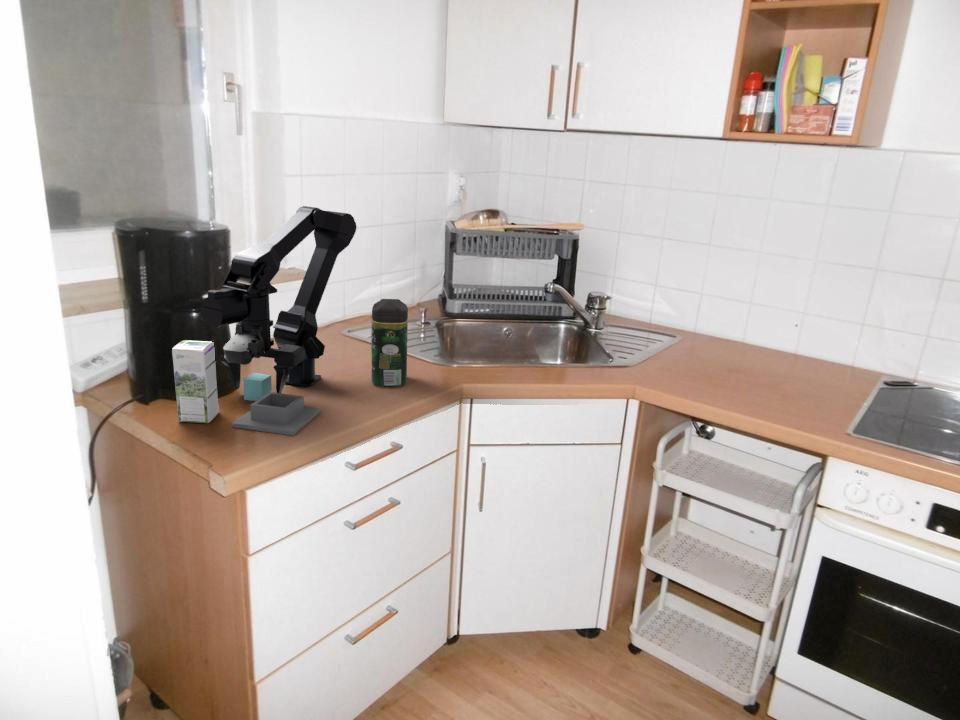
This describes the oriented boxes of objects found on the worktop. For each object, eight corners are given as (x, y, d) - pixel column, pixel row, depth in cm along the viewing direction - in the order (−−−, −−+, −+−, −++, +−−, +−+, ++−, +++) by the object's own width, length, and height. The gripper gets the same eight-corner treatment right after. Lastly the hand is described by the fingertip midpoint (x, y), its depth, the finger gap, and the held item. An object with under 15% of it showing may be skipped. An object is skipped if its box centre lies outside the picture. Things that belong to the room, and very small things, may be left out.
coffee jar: (372, 374, 156) (372, 295, 150) (406, 375, 157) (408, 296, 151) (369, 389, 146) (370, 305, 141) (406, 389, 147) (408, 307, 142)
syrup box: (219, 412, 130) (215, 340, 125) (208, 424, 124) (203, 349, 120) (189, 410, 130) (184, 338, 125) (177, 423, 124) (170, 347, 120)
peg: (254, 393, 140) (253, 372, 139) (271, 395, 140) (271, 375, 138) (244, 399, 137) (243, 378, 135) (262, 402, 136) (261, 381, 135)
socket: (264, 404, 135) (263, 386, 134) (321, 411, 133) (320, 393, 132) (232, 427, 124) (231, 407, 123) (293, 435, 122) (293, 416, 121)
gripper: (187, 322, 127) (193, 399, 132) (279, 332, 124) (282, 411, 129) (219, 309, 138) (224, 381, 142) (305, 318, 134) (307, 392, 139)
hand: (258, 391), depth 138 cm, fingers open, 9 cm apart
